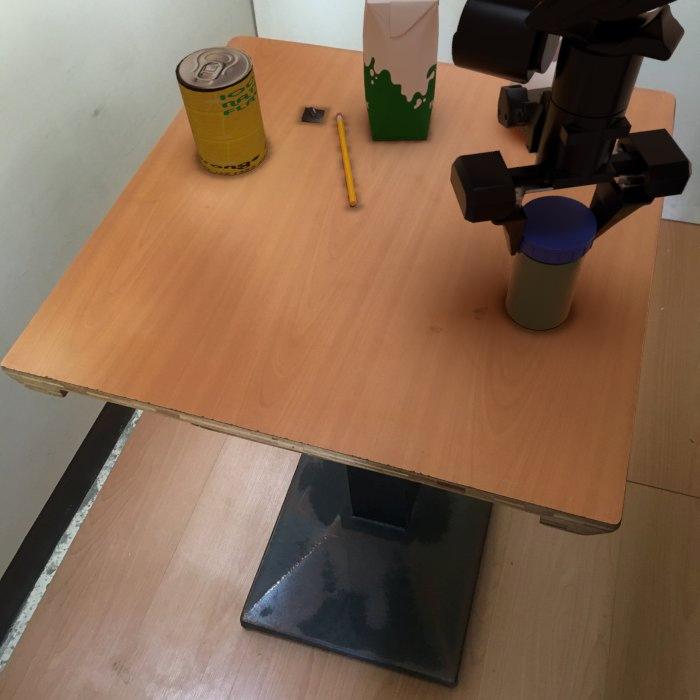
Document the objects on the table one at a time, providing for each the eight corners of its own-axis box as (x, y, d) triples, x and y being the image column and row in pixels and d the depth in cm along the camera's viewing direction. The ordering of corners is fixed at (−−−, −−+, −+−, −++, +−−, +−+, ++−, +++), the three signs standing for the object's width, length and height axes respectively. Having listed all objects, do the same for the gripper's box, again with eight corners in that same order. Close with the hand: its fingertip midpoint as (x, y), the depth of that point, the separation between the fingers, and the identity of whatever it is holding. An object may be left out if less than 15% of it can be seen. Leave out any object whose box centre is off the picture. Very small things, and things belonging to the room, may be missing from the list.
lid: (535, 273, 56) (538, 259, 55) (500, 221, 60) (502, 206, 59) (608, 251, 57) (613, 237, 56) (569, 201, 61) (572, 186, 60)
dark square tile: (325, 110, 89) (325, 102, 88) (321, 123, 88) (321, 115, 87) (305, 107, 90) (305, 99, 89) (300, 120, 88) (300, 112, 87)
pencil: (342, 116, 88) (341, 112, 88) (356, 205, 77) (356, 200, 77) (336, 117, 88) (335, 112, 87) (350, 206, 77) (349, 201, 77)
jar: (566, 283, 68) (587, 204, 59) (571, 331, 65) (595, 255, 56) (504, 282, 69) (516, 204, 60) (506, 329, 65) (520, 254, 57)
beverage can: (274, 133, 87) (260, 47, 77) (258, 177, 81) (241, 90, 72) (210, 130, 88) (188, 45, 78) (191, 172, 83) (165, 87, 73)
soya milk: (434, 144, 84) (445, -18, 68) (364, 145, 84) (359, -15, 68) (431, 105, 89) (441, -54, 73) (366, 106, 90) (361, -51, 73)
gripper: (663, 27, 53) (611, 179, 66) (441, 55, 52) (431, 204, 65) (730, 103, 46) (658, 256, 59) (477, 136, 46) (458, 285, 58)
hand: (548, 247), depth 60 cm, fingers closed on lid, 7 cm apart
